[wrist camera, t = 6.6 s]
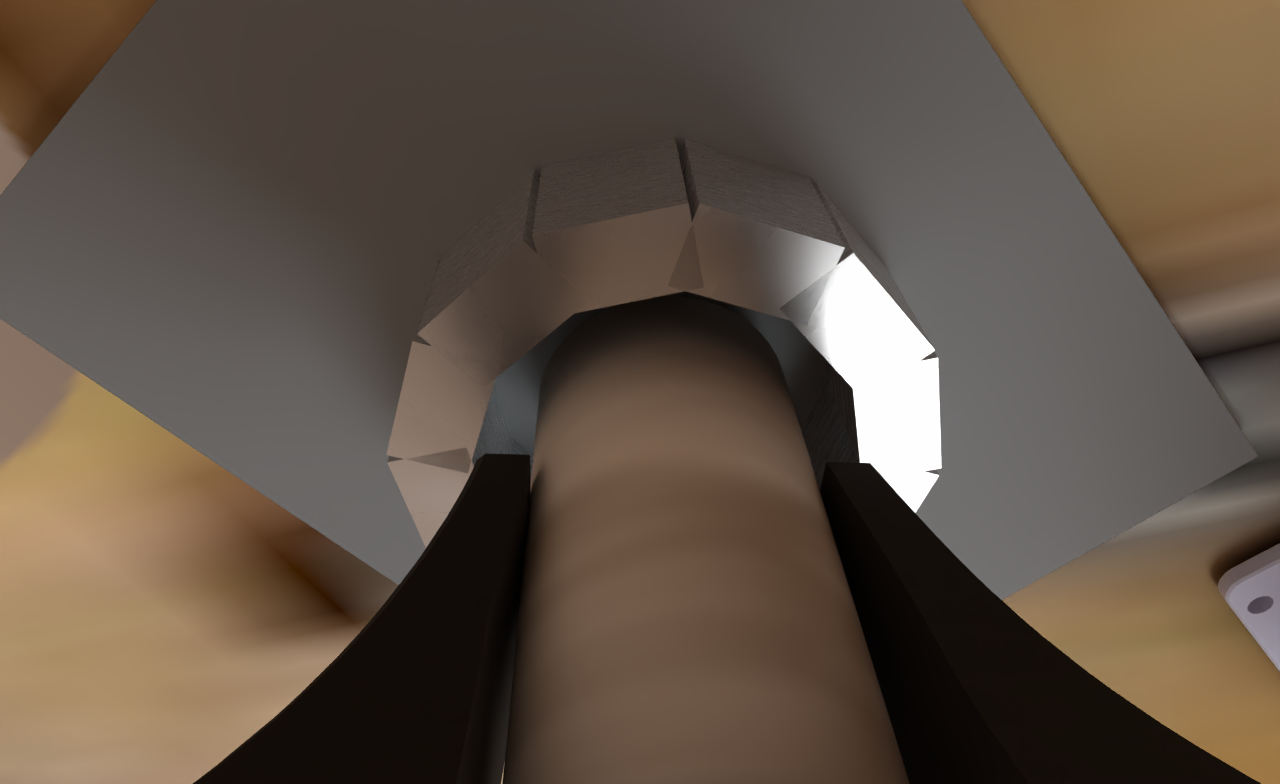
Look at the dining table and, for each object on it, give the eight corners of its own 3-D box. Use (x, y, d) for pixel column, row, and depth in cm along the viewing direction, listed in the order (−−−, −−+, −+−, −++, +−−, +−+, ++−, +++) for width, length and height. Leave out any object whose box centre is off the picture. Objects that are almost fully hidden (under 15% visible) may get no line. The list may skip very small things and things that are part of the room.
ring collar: (983, 383, 16) (1038, 474, 14) (640, 608, 19) (644, 710, 17) (688, 26, 13) (706, 77, 11) (321, 364, 16) (278, 456, 14)
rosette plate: (1240, 437, 18) (1258, 456, 17) (683, 755, 23) (684, 777, 22) (599, -539, 10) (600, -555, 10) (-42, 259, 15) (-65, 275, 14)
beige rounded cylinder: (834, 410, 15) (1016, 903, 9) (651, 536, 17) (686, 1043, 10) (677, 245, 14) (753, 701, 7) (486, 400, 15) (397, 906, 8)
